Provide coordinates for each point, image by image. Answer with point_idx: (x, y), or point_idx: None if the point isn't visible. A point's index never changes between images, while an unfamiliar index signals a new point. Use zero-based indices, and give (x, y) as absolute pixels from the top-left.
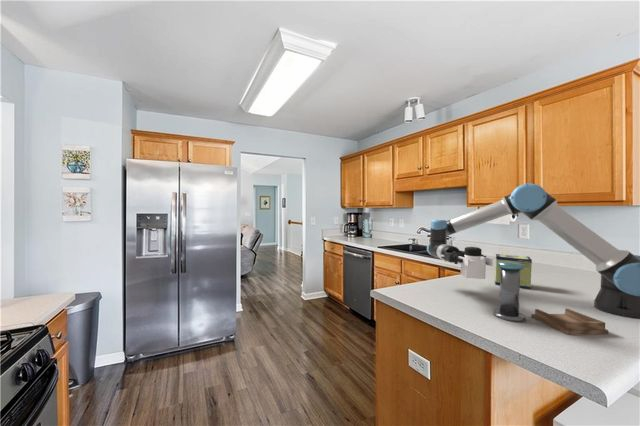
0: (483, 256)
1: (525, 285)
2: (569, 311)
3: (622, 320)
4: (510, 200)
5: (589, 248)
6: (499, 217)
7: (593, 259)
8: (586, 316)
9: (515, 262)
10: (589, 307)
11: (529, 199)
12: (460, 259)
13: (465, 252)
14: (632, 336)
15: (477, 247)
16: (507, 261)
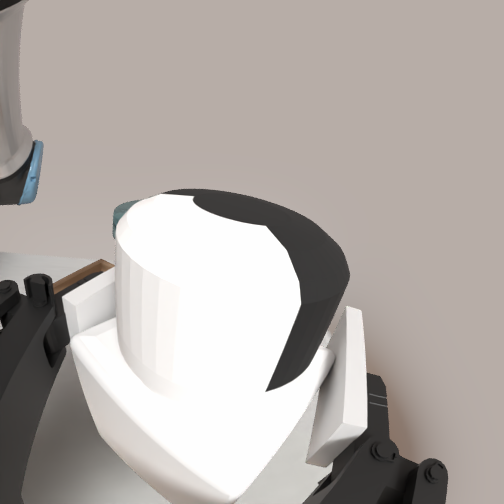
0: (14, 297)
1: None
2: (58, 288)
3: (10, 259)
4: None
5: (15, 122)
6: None
7: (6, 150)
8: (83, 271)
9: (121, 207)
10: None
11: None
12: (378, 379)
13: (329, 324)
14: (86, 259)
15: (181, 191)
16: (119, 219)
